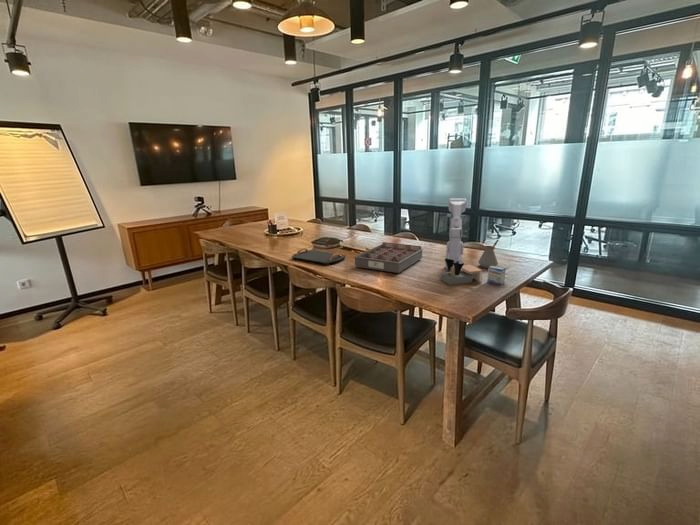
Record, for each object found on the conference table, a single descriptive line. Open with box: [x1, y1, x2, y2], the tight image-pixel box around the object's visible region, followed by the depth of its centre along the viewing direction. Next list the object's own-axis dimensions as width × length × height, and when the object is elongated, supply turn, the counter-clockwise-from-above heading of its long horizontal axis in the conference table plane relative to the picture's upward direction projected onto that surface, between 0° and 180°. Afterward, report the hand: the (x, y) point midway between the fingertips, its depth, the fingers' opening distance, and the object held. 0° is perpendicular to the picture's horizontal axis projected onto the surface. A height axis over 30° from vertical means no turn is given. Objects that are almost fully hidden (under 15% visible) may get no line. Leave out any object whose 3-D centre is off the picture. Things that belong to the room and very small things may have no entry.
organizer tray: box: [353, 241, 424, 274], centre depth 234 cm, size 32×40×10 cm
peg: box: [449, 267, 457, 276], centre depth 197 cm, size 4×4×8 cm
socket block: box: [440, 270, 474, 286], centre depth 198 cm, size 10×14×4 cm
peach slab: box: [461, 264, 483, 283], centre depth 199 cm, size 12×8×7 cm
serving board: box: [291, 248, 347, 267], centre depth 251 cm, size 39×23×6 cm, turn 55°
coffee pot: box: [478, 239, 500, 269], centre depth 224 cm, size 21×12×15 cm, turn 138°
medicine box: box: [487, 265, 507, 286], centre depth 193 cm, size 8×4×9 cm, turn 44°
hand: (453, 272), depth 197 cm, fingers open, 7 cm apart
